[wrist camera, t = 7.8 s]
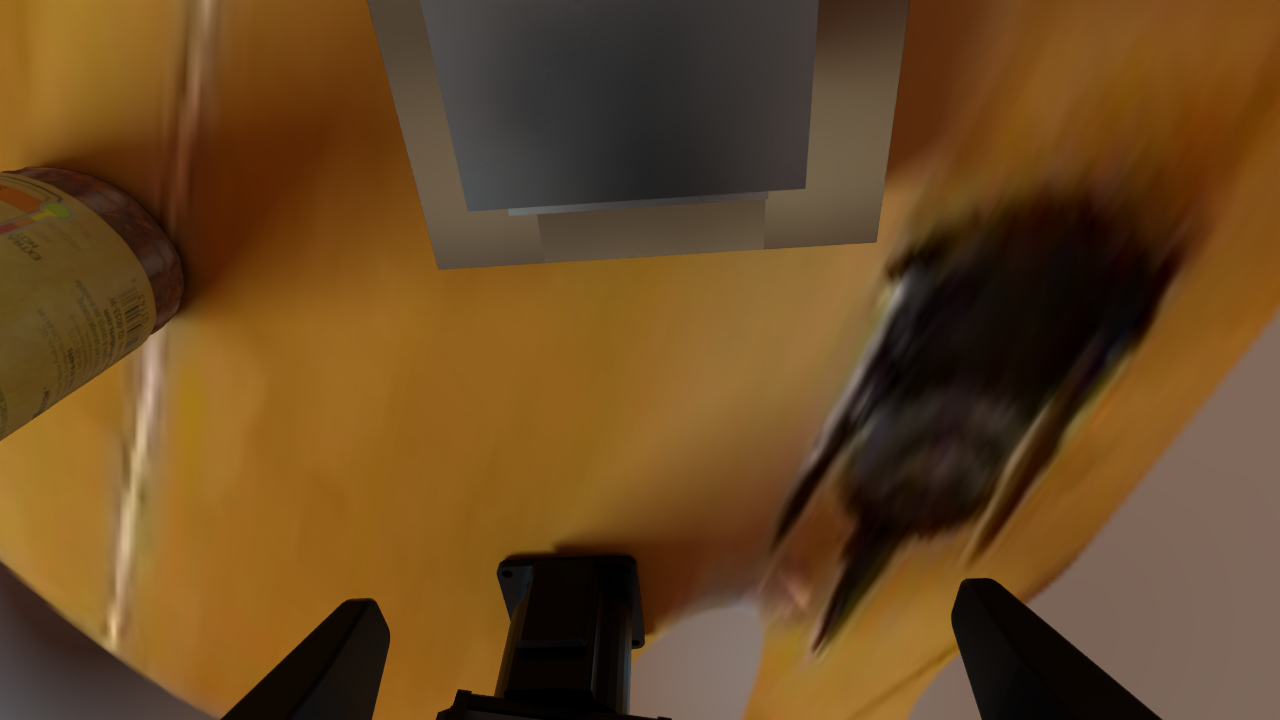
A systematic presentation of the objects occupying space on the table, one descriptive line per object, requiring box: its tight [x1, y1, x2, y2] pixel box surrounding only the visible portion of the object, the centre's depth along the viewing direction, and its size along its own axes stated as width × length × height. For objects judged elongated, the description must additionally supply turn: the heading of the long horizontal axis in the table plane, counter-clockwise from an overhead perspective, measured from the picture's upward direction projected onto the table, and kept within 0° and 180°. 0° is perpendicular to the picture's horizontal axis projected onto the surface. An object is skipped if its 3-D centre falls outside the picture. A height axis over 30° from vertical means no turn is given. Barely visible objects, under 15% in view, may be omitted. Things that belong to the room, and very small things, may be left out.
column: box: [420, 0, 819, 216], centre depth 9 cm, size 5×4×8 cm
